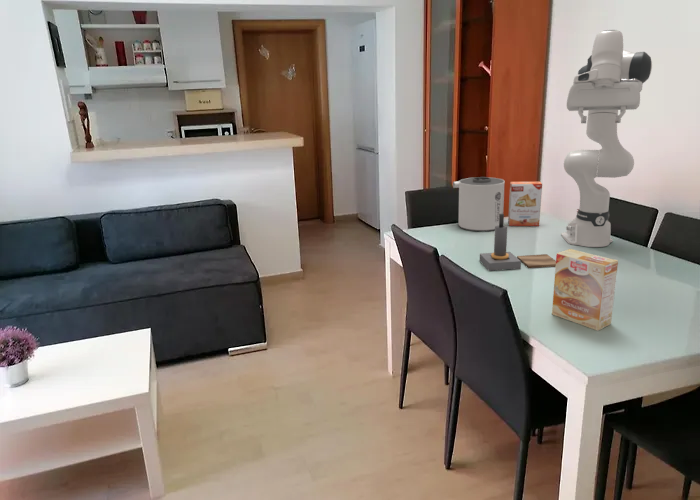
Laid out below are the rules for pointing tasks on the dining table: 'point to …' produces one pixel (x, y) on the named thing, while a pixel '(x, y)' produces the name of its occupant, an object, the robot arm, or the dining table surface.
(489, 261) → the socket block
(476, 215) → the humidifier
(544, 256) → the pad
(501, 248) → the plug
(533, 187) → the cracker box
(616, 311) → the dining table surface
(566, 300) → the coffeecake box
